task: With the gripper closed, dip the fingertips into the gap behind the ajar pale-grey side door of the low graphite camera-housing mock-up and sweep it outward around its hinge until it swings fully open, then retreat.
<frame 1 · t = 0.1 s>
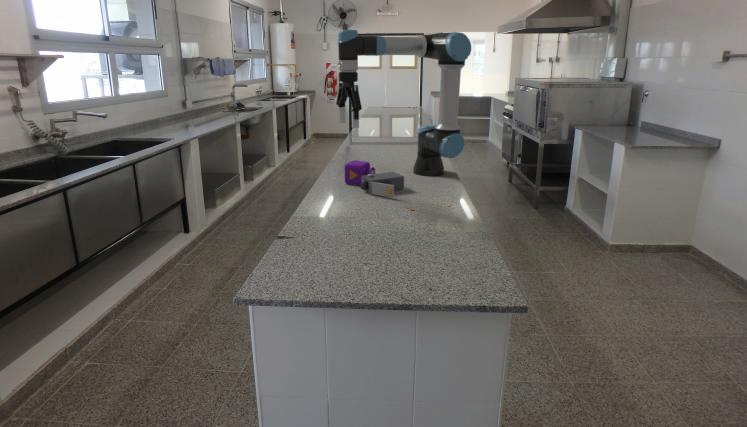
hand: (348, 125, 201), 28 cm above the table, fingers open, 13 cm apart
toy camera: (360, 183, 222), on the table
side door: (381, 189, 201), point 3 cm above the table, hinge at 55.0°
housing: (382, 189, 212), on the table
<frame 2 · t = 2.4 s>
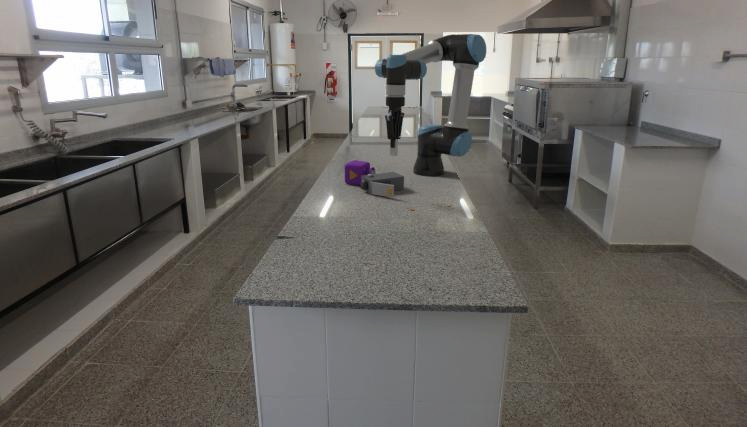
hand: (393, 155, 199), 17 cm above the table, fingers closed
nothing on the table moved.
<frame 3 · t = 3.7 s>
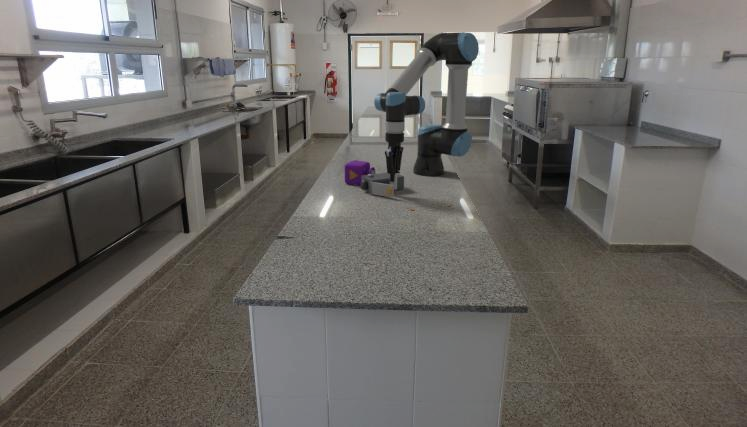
hand: (393, 188, 203), 3 cm above the table, fingers closed
nothing on the table moved.
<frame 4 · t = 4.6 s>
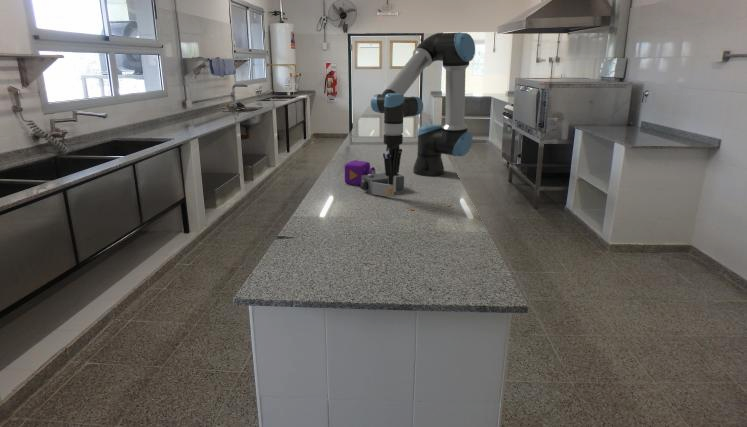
hand: (391, 191, 200), 3 cm above the table, fingers closed
side door: (381, 189, 201), point 3 cm above the table, hinge at 55.0°, touching gripper
everything else where it was.
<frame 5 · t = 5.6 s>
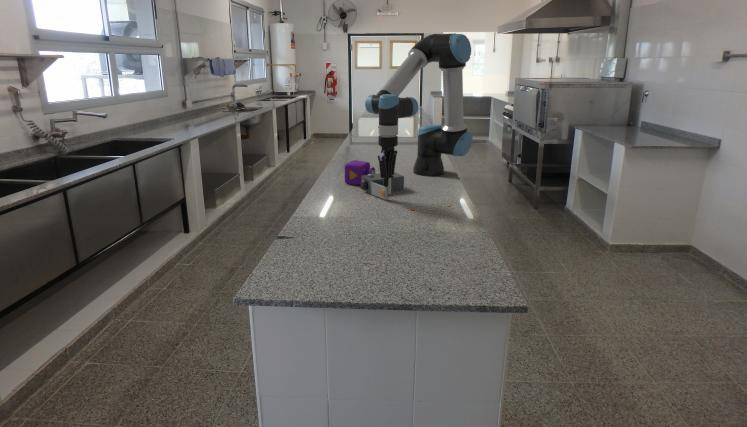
hand: (387, 193, 198), 2 cm above the table, fingers closed
side door: (378, 190, 199), point 3 cm above the table, hinge at 81.1°, touching gripper
everything else where it was.
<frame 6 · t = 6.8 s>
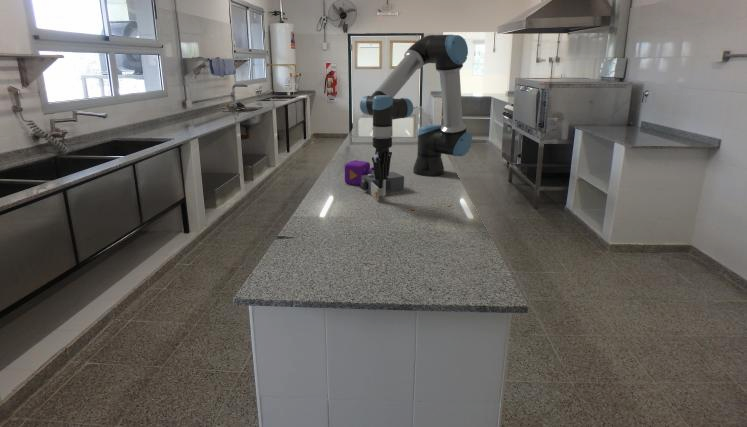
hand: (381, 195, 196), 2 cm above the table, fingers closed
side door: (374, 191, 199), point 3 cm above the table, hinge at 102.0°, touching gripper
everything else where it was.
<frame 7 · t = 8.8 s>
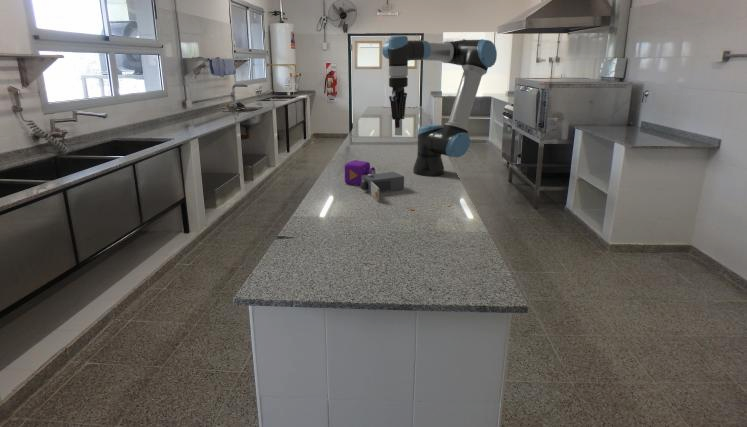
hand: (398, 135, 205), 24 cm above the table, fingers closed
side door: (374, 191, 199), point 3 cm above the table, hinge at 102.0°
everything else where it was.
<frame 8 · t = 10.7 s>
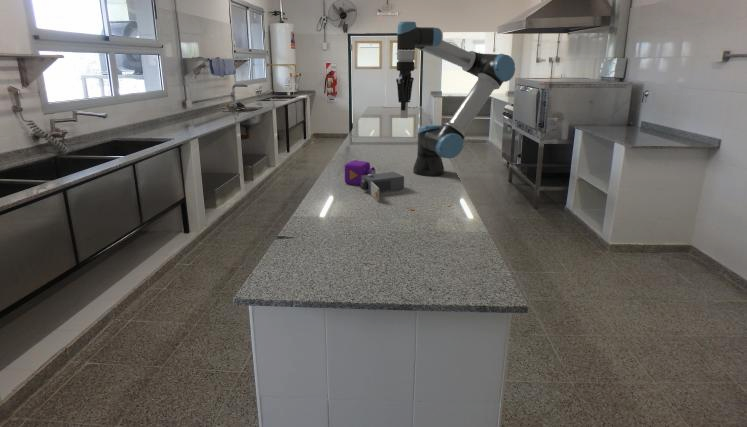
hand: (404, 117, 213), 29 cm above the table, fingers closed
nothing on the table moved.
at the end: side door at +102° (first picture: +55°); toy camera moved 0.3 cm from its start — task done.
